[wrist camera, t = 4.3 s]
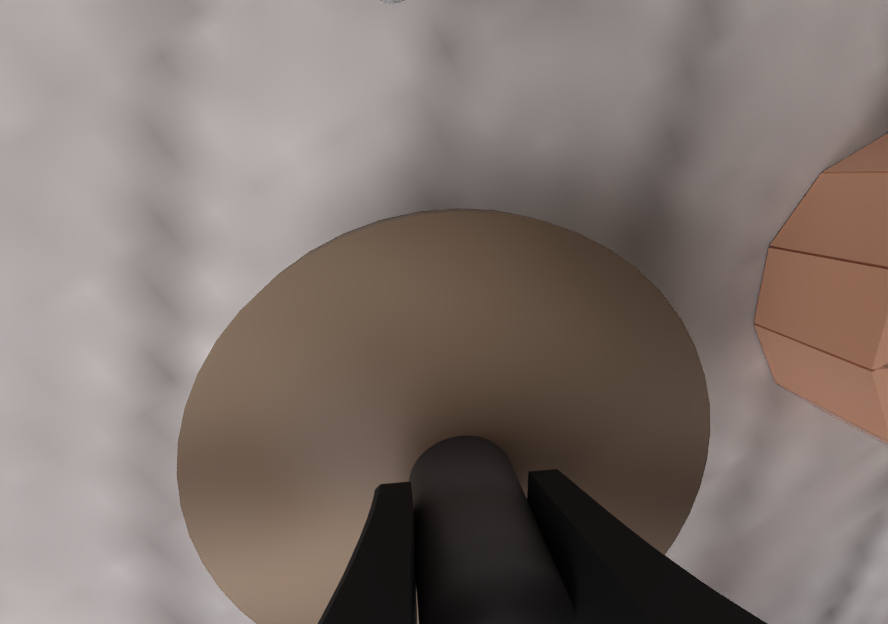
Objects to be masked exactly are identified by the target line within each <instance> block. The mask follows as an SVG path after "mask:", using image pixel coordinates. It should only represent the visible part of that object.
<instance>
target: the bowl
mask: <svg viewBox="0 0 888 624" xmlns="http://www.w3.org/2000/svg"><path fill="white" fill-rule="evenodd" d="M770 246H771V248H768V253H767V258H766V263H765V269H764V274H763V279H762V284H761V289H760V294H759V299H758V304H757V309H756V314H755V319H754V323H756V324H754V326H755V329H756V332H757V335H758V337H759V340H760V343H761V345H762V348H763V351H764V354H765V356H766V359H767V362H768V365H769V367H770V370H771V373H772V375H773V378H774V381H775V382H776V384H778V385H780V386H782V387H783V388H785V389H787V390H788V391H790V392H792V393H793V394H795V395H797V396H798V397H800V398H802V399H804V400H805V401H807V402H809V403H810V404H812V405H814V406H815V407H817V408H819V409H820V410H822V411H824V412H826V413H828V414H830V415H831V416H833V417H835V418H837V419H839V420H841V421H843V422H845V423H846V424H848V425H850V426H852V427H854V428H856V429H858V430H859V431H861V432H863V433H865V434H867V435H869V436H871V437H873V438H874V439H876V440H878V441H880V442H882V443H884V444H886V445H888V133H887V134H885V135H884V136H882V137H880V138H879V139H877V140H875V141H874V142H872V143H870V144H868V145H867V146H865V147H863V148H862V149H860V150H858V151H857V152H855V153H853V154H852V155H850V156H848V157H847V158H845V159H843V160H842V161H840V162H838V163H836V164H835V165H833V166H831V167H830V168H828V169H826V170H825V171H823V173H821V174H820V175H819V177H818V178H817V180H816V181H815V182H814V184H813V185H812V187H811V188H810V189H809V191H808V192H807V194H806V195H805V196H804V198H803V199H802V201H801V202H800V203H799V205H798V206H797V208H796V209H795V210H794V212H793V213H792V215H791V216H790V217H789V219H788V220H787V222H786V223H785V224H784V226H783V227H782V229H781V230H780V231H779V233H778V234H777V236H776V237H775V238H774V240H773V241H772V243H771V244H770Z"/></svg>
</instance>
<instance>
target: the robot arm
mask: <svg viewBox="0 0 888 624" xmlns="http://www.w3.org/2000/svg"><path fill="white" fill-rule="evenodd" d="M527 501H528V503H529V505H530V507H531V510H532V512H533V514H534V517H535V519H536V521H537V524H538V526H539V528H540V530H541V533H542V535H543V537H544V540H545V542H546V544H547V546H548V549H549V551H550V553H551V556H552V558H553V560H554V563H555V565H556V567H557V569H558V572H559V574H560V576H561V579H562V581H563V583H564V585H565V588H566V590H567V592H568V595H569V597H570V600H571V602H572V605H573V612H574V618H573V624H767V623H765V622H764V621H762V620H760V619H759V618H757V617H756V616H754V615H752V614H751V613H749V612H748V611H746V610H745V609H743V608H741V607H740V606H738V605H737V604H735V603H733V602H732V601H730V600H729V599H727V598H726V597H724V596H722V595H721V594H719V593H718V592H716V591H715V590H713V589H712V588H710V587H709V586H707V585H706V584H704V583H703V582H701V581H700V580H698V579H697V578H696V577H694V576H693V575H691V574H690V573H689V572H687V571H686V570H684V569H683V568H682V567H680V566H679V565H677V564H676V563H675V562H673V561H672V560H670V559H669V558H668V557H666V556H665V555H663V554H662V553H661V552H659V551H658V550H657V549H655V548H654V547H653V546H651V545H650V544H649V543H648V542H646V541H645V540H644V539H642V538H641V537H640V536H638V535H637V534H636V533H635V532H633V531H632V530H631V529H630V528H628V527H627V526H626V525H624V524H623V523H622V522H621V521H619V520H618V519H617V518H616V517H615V516H613V515H612V514H611V513H610V512H608V511H607V510H606V509H605V508H604V507H602V506H601V505H600V504H599V503H598V502H596V501H595V500H594V499H593V498H592V497H590V496H589V495H588V494H587V493H586V492H584V491H583V490H582V489H581V488H580V487H578V486H577V485H576V484H575V483H574V482H572V481H571V480H570V479H569V478H568V477H566V476H565V475H564V474H563V473H561V472H560V471H559V470H558V469H551V470H540V471H529V472H528V491H527ZM318 624H417V598H416V578H415V536H414V505H413V496H412V487H411V481H410V482H399V483H387V484H380V485H379V486H378V487H377V488H376V489H375V492H374V497H373V501H372V504H371V508H370V511H369V514H368V517H367V520H366V522H365V525H364V528H363V530H362V533H361V535H360V538H359V540H358V542H357V545H356V547H355V549H354V551H353V554H352V556H351V558H350V561H349V563H348V565H347V567H346V570H345V572H344V574H343V576H342V578H341V580H340V582H339V584H338V586H337V588H336V590H335V591H334V593H333V595H332V597H331V599H330V601H329V603H328V605H327V607H326V609H325V611H324V613H323V615H322V617H321V618H320V620H319V622H318Z"/></svg>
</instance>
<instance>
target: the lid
mask: <svg viewBox="0 0 888 624" xmlns="http://www.w3.org/2000/svg"><path fill="white" fill-rule="evenodd" d="M709 437H710V405H709V398H708V392H707V386H706V380H705V375H704V372H703V369H702V366H701V363H700V360H699V357H698V354H697V351H696V348H695V345H694V343H693V341H692V339H691V338H690V336H689V334H688V332H687V330H686V328H685V326H684V324H683V322H682V320H681V319H680V317H679V316H678V314H677V313H676V312H675V310H674V309H673V308H672V306H671V305H670V304H669V302H668V301H667V299H666V298H665V297H664V295H663V294H662V293H661V292H660V291H659V290H658V289H657V288H656V287H655V286H654V285H653V284H652V283H651V282H650V281H649V280H648V279H647V278H646V277H645V276H644V275H643V274H642V273H641V272H640V271H639V270H637V269H636V268H635V267H633V266H632V265H631V264H629V263H628V262H626V261H625V260H624V259H622V258H621V257H620V256H618V255H617V254H615V253H614V252H613V251H611V250H610V249H608V248H606V247H604V246H602V245H600V244H598V243H596V242H594V241H592V240H590V239H588V238H586V237H584V236H582V235H581V234H579V233H576V232H573V231H570V230H567V229H564V228H561V227H558V226H555V225H552V224H550V223H547V222H544V221H541V220H537V219H534V218H531V217H526V216H521V215H515V214H510V213H505V212H500V211H495V210H476V209H445V210H433V211H421V212H415V213H411V214H406V215H401V216H397V217H392V218H388V219H383V220H380V221H377V222H374V223H371V224H369V225H366V226H363V227H360V228H358V229H355V230H352V231H350V232H347V233H344V234H342V235H340V236H338V237H336V238H335V239H333V240H331V241H329V242H327V243H325V244H323V245H321V246H319V247H318V248H316V249H314V250H312V251H310V252H309V253H307V254H306V255H304V256H303V257H302V258H300V259H299V260H297V261H296V262H295V263H293V264H292V265H290V266H289V267H288V268H286V269H285V270H283V271H282V272H281V273H279V274H278V275H277V276H276V277H275V278H274V279H273V280H272V281H271V282H270V283H269V284H268V285H267V286H265V287H264V288H263V289H262V290H261V291H260V292H259V293H258V294H257V295H256V296H255V297H254V298H253V299H252V300H251V301H250V302H249V303H248V304H247V305H246V306H245V307H243V308H242V309H241V310H240V311H239V313H238V314H237V315H236V317H235V318H234V319H233V320H232V322H231V323H230V324H229V326H228V327H227V328H226V329H225V331H224V332H223V333H222V334H221V336H220V337H219V338H218V340H217V341H216V342H215V344H214V346H213V348H212V349H211V351H210V353H209V355H208V356H207V358H206V360H205V362H204V364H203V365H202V367H201V369H200V371H199V372H198V374H197V377H196V379H195V382H194V385H193V387H192V390H191V393H190V395H189V398H188V401H187V403H186V406H185V410H184V414H183V419H182V424H181V429H180V434H179V439H178V455H177V480H178V488H179V496H180V504H181V509H182V512H183V515H184V519H185V522H186V526H187V529H188V532H189V536H190V538H191V540H192V542H193V544H194V546H195V548H196V550H197V552H198V555H199V557H200V559H201V561H202V563H203V565H204V566H205V568H206V569H207V570H208V572H209V573H210V575H211V576H212V578H213V579H214V581H215V582H216V584H217V585H218V586H219V588H220V589H221V590H222V591H223V592H224V593H225V595H226V596H227V597H228V598H229V599H230V600H231V601H232V602H233V603H234V604H235V605H236V606H237V607H238V609H239V610H240V611H242V612H243V613H244V614H245V615H246V616H248V617H249V618H250V619H251V620H253V621H254V622H255V623H256V624H318V622H319V620H320V618H321V617H322V615H323V613H324V611H325V609H326V607H327V605H328V603H329V601H330V599H331V597H332V595H333V593H334V591H335V590H336V588H337V586H338V584H339V582H340V580H341V578H342V576H343V574H344V572H345V570H346V567H347V565H348V563H349V561H350V558H351V556H352V554H353V551H354V549H355V547H356V545H357V542H358V540H359V538H360V535H361V533H362V530H363V528H364V525H365V522H366V520H367V517H368V514H369V511H370V508H371V504H372V501H373V497H374V492H375V489H376V488H377V487H378V486H379V485H380V484H387V483H399V482H410V481H411V487H412V496H413V505H414V536H415V578H416V598H417V624H573V618H574V612H573V605H572V602H571V600H570V597H569V595H568V592H567V590H566V588H565V585H564V583H563V581H562V579H561V576H560V574H559V572H558V569H557V567H556V565H555V563H554V560H553V558H552V556H551V553H550V551H549V549H548V546H547V544H546V542H545V540H544V537H543V535H542V533H541V530H540V528H539V526H538V524H537V521H536V519H535V517H534V514H533V512H532V510H531V507H530V505H529V503H528V501H527V491H528V472H529V471H540V470H551V469H558V470H559V471H560V472H561V473H563V474H564V475H565V476H566V477H568V478H569V479H570V480H571V481H572V482H574V483H575V484H576V485H577V486H578V487H580V488H581V489H582V490H583V491H584V492H586V493H587V494H588V495H589V496H590V497H592V498H593V499H594V500H595V501H596V502H598V503H599V504H600V505H601V506H602V507H604V508H605V509H606V510H607V511H608V512H610V513H611V514H612V515H613V516H615V517H616V518H617V519H618V520H619V521H621V522H622V523H623V524H624V525H626V526H627V527H628V528H630V529H631V530H632V531H633V532H635V533H636V534H637V535H638V536H640V537H641V538H642V539H644V540H645V541H646V542H648V543H649V544H650V545H651V546H653V547H654V548H655V549H657V550H658V551H659V552H661V553H662V554H663V555H665V554H666V552H667V551H668V549H669V548H670V546H671V545H672V544H673V542H674V541H675V539H676V537H677V536H678V534H679V532H680V530H681V528H682V526H683V525H684V523H685V521H686V519H687V517H688V515H689V513H690V511H691V508H692V506H693V503H694V501H695V498H696V496H697V493H698V491H699V488H700V485H701V481H702V477H703V473H704V469H705V465H706V461H707V454H708V446H709Z"/></svg>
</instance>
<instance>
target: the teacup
mask: <svg viewBox="0 0 888 624" xmlns="http://www.w3.org/2000/svg"><path fill="white" fill-rule="evenodd" d="M381 1H382V2H384V3H398V2H402V1H404V0H381Z"/></svg>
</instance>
